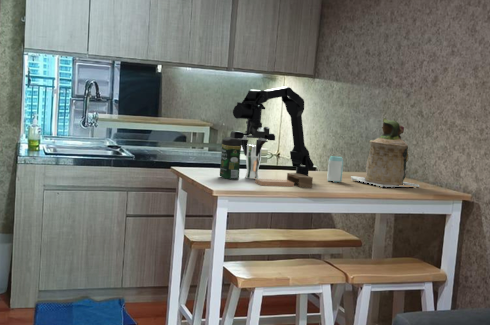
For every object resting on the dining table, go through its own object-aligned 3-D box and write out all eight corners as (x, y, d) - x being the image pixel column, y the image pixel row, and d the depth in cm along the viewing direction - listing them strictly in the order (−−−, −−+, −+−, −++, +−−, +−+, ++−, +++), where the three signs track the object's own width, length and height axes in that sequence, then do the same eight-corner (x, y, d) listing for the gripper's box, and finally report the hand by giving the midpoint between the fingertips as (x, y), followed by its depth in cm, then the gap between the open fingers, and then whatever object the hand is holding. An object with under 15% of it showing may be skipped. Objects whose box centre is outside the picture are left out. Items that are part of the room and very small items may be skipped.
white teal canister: (324, 181, 318) (326, 156, 317) (331, 180, 324) (333, 155, 323) (337, 183, 314) (339, 157, 313) (344, 182, 320) (346, 157, 319)
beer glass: (261, 179, 305) (264, 146, 304) (247, 178, 303) (249, 146, 302) (256, 177, 312) (259, 145, 310) (242, 176, 310) (244, 144, 308)
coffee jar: (217, 176, 304) (220, 135, 302) (233, 176, 307) (236, 136, 305) (224, 179, 295) (227, 137, 293) (241, 179, 298) (244, 138, 296)
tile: (255, 183, 293) (255, 178, 293) (287, 184, 298) (287, 179, 297) (260, 186, 286) (261, 181, 285) (293, 187, 290) (294, 182, 290)
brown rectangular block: (286, 182, 301) (287, 172, 300) (298, 182, 303) (299, 173, 303) (299, 187, 289) (300, 177, 288) (311, 187, 291) (312, 177, 291)
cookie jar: (382, 188, 307) (389, 119, 304) (348, 180, 328) (354, 115, 325) (421, 188, 320) (428, 121, 317) (386, 180, 341) (392, 118, 338)
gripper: (240, 119, 273) (237, 157, 275) (282, 122, 280) (278, 159, 282) (231, 117, 284) (228, 154, 285) (271, 120, 291) (268, 156, 292)
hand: (251, 155), depth 286 cm, fingers open, 5 cm apart
